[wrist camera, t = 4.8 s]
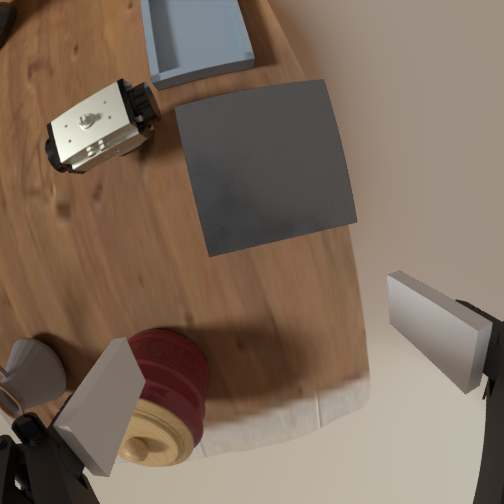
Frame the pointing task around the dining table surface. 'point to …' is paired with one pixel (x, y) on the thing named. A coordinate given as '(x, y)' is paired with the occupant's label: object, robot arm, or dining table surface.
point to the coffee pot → (30, 377)
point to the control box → (265, 165)
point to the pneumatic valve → (102, 127)
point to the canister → (166, 399)
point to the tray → (194, 40)
